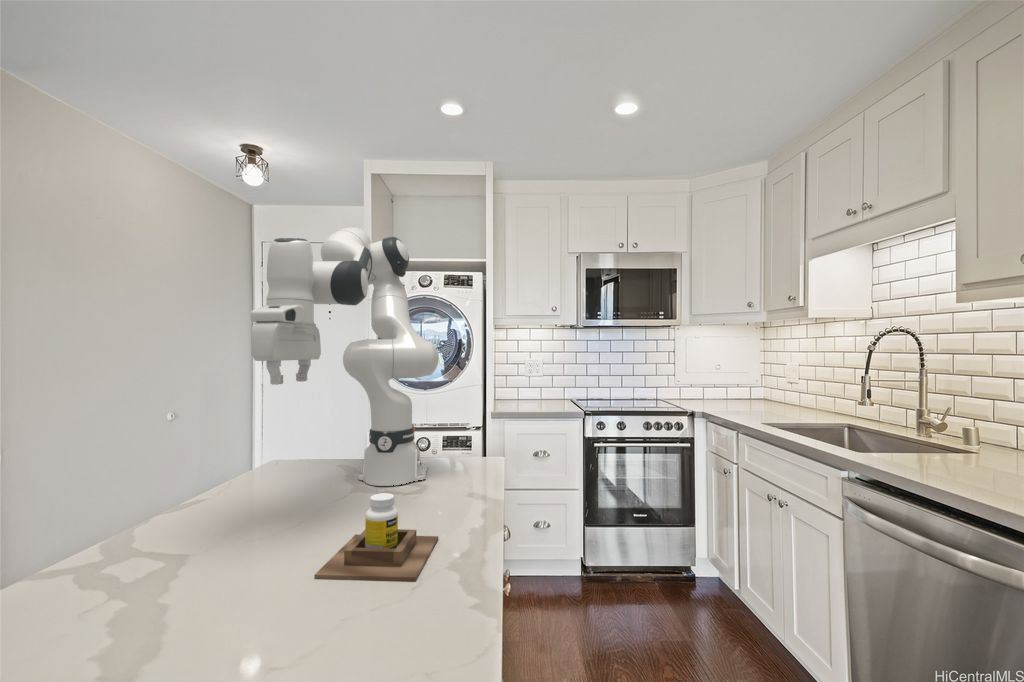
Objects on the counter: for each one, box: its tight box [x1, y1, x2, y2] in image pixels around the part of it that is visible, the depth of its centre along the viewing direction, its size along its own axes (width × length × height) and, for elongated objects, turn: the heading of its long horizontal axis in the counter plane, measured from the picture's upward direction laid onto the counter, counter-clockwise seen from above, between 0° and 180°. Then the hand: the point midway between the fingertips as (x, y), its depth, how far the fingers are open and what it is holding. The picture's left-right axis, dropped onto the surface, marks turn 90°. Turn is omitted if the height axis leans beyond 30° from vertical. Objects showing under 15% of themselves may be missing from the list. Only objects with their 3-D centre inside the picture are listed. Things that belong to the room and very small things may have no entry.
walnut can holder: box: [314, 528, 439, 582], centre depth 80 cm, size 16×16×3 cm
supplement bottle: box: [364, 492, 399, 549], centre depth 80 cm, size 5×5×10 cm
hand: (289, 382), depth 95 cm, fingers open, 8 cm apart
